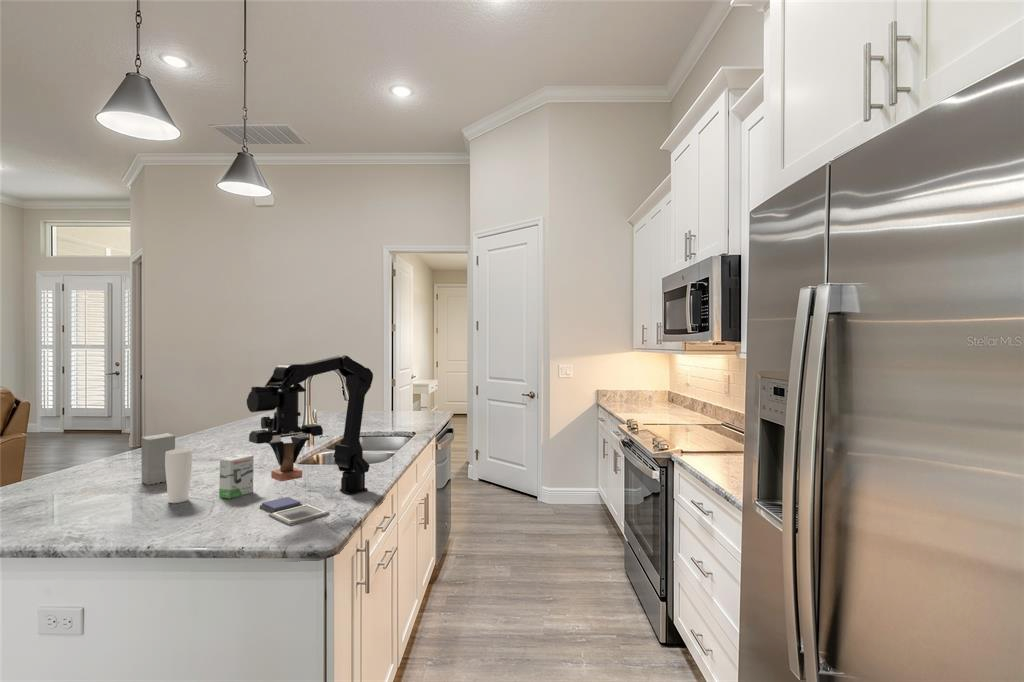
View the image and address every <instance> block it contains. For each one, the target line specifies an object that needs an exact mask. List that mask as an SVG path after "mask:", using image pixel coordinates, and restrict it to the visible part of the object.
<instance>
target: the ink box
mask: <svg viewBox="0 0 1024 682" xmlns="http://www.w3.org/2000/svg"><path fill="white" fill-rule="evenodd" d="M218 483H219V484H218V485H219V489H218V490H219V491H218V493H219V494H218V497H219V498H222V499H223V498H224V499H229V500H230V499H231V498H232V499H235V498H238V497H240V496H241V497H242V496H244V494H245V495H248V494H251V493H253V492H254V455H250V454H245V453H243V454H241V453H240V454H238V455H236V454H235V455H231V456H226V457H221V458H220V460H219V482H218ZM234 497H235V498H234Z"/></svg>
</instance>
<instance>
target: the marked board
mask: <svg viewBox="0 0 1024 682" xmlns="http://www.w3.org/2000/svg"><path fill="white" fill-rule="evenodd" d="M329 514H330V512H329V511H327V510H324V509H322V508H319V507H317V506H314V505H312V504H309V503H307V504H304V505H303V504H302V506H299V507H295V508H291V509H287V510H283V511H279V512H275V513H268V517H269V516H270V517H269V518H271V519H274V520H276V521H278V522H280V523H282V524H284V523H285V524H284V525H286V524H287V526H288V525H290V526H293V524H294V525H297V524H301V523H304V522H307V521H312V520H315V519H318V518H322V516H323V517H326V516H330V515H329ZM325 515H326V516H325ZM296 523H297V524H296Z"/></svg>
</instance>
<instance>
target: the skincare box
mask: <svg viewBox="0 0 1024 682" xmlns="http://www.w3.org/2000/svg"><path fill="white" fill-rule="evenodd" d="M175 449H176V435H174V434H171V433H167V432H166V433H160V434H154V435H153V434H152V435H146V436H141V450H140V451H141V483H142V484H145V483H146V484H145V485H147V484H148V485H147V486H151V485H150V484H153V485H156V484H155V483H157V484H161V483H160V482H162V483H166V482H165V481H166V471H165V454H166V452H167V451H169V450H175Z"/></svg>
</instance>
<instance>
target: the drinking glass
mask: <svg viewBox="0 0 1024 682" xmlns="http://www.w3.org/2000/svg"><path fill="white" fill-rule="evenodd" d="M192 466H193V449H191V448H177V449H176V448H175V450H169V451H167V452H166V454H165V471H166V482H165V483H166V489H167V491H166V492H167V502H168V504H180V503H186V502H187V501H188V500H189V499H190V486H191V479H192V477H191V476H192V468H193V467H192Z"/></svg>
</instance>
